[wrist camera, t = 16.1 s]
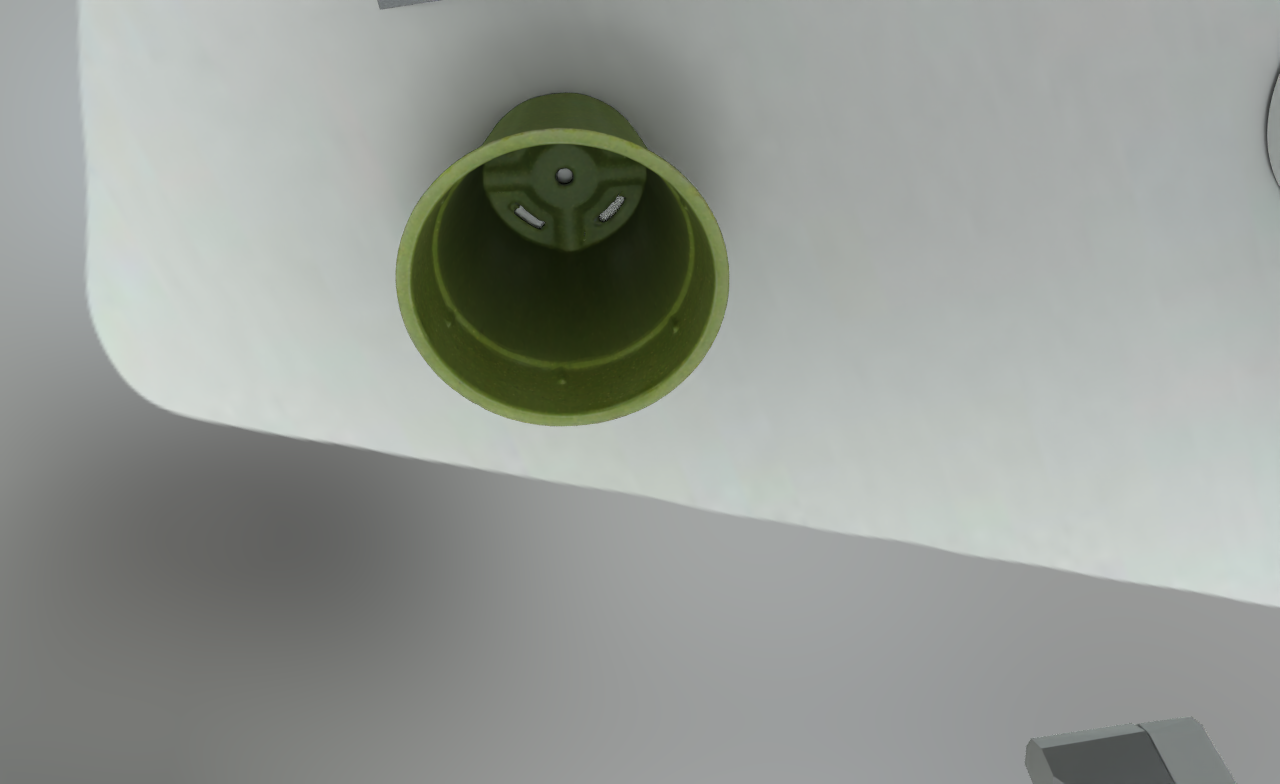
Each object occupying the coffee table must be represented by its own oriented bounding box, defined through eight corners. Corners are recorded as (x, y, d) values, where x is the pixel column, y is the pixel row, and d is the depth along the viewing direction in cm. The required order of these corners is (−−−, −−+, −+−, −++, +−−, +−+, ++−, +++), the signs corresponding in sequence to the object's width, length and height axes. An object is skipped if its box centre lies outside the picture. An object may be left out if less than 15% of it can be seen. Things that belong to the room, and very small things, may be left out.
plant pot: (729, 64, 49) (770, 169, 40) (662, 307, 55) (683, 448, 46) (446, 2, 47) (418, 98, 38) (409, 262, 53) (377, 400, 44)
